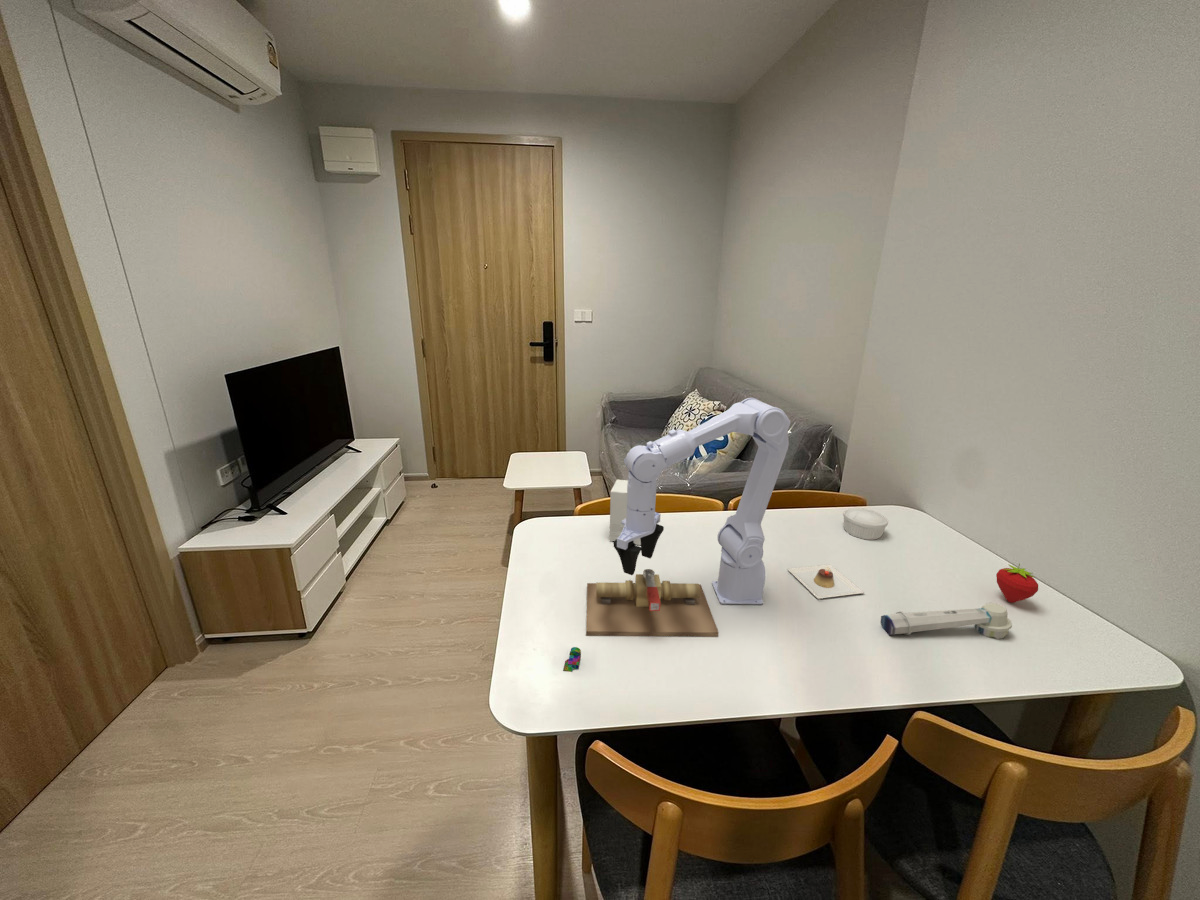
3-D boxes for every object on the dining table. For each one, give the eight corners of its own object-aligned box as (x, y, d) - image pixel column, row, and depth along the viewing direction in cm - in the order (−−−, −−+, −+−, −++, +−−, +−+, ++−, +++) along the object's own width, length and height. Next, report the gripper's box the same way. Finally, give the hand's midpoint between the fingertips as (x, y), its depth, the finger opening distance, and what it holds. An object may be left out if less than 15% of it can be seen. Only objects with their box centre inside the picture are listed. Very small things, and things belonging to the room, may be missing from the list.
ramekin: (835, 521, 142) (838, 506, 140) (874, 525, 140) (878, 509, 139) (848, 540, 131) (852, 523, 130) (891, 544, 130) (895, 526, 128)
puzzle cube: (565, 656, 88) (565, 646, 87) (580, 657, 87) (581, 647, 87) (561, 673, 84) (561, 663, 83) (577, 675, 83) (577, 664, 83)
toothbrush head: (879, 607, 97) (1000, 593, 97) (876, 634, 99) (995, 620, 99) (895, 625, 92) (1023, 610, 92) (892, 652, 94) (1017, 637, 94)
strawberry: (1019, 615, 102) (1033, 575, 98) (982, 594, 108) (995, 556, 105) (1037, 610, 103) (1052, 570, 100) (1000, 590, 110) (1013, 552, 107)
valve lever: (642, 575, 101) (642, 568, 101) (653, 575, 101) (653, 568, 101) (648, 610, 90) (648, 602, 90) (660, 610, 90) (661, 602, 90)
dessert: (817, 602, 105) (820, 584, 103) (786, 572, 116) (789, 555, 114) (863, 596, 107) (867, 578, 106) (829, 567, 118) (832, 551, 117)
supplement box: (646, 530, 134) (649, 481, 129) (641, 546, 125) (644, 494, 121) (614, 526, 136) (616, 478, 131) (608, 541, 127) (610, 490, 122)
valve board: (700, 588, 108) (702, 565, 106) (718, 636, 93) (721, 611, 91) (587, 586, 108) (587, 564, 106) (586, 635, 92) (586, 609, 90)
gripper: (641, 489, 102) (638, 544, 106) (604, 513, 90) (602, 574, 95) (670, 497, 98) (666, 554, 103) (636, 523, 87) (633, 586, 91)
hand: (638, 564), depth 98 cm, fingers open, 7 cm apart
